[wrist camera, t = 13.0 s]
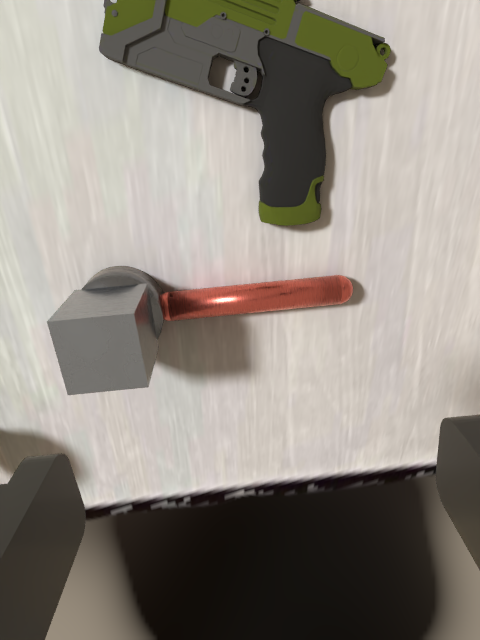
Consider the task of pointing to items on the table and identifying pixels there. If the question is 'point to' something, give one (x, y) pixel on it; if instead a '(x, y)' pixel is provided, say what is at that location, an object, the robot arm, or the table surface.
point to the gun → (257, 55)
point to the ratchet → (228, 295)
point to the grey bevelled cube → (105, 339)
